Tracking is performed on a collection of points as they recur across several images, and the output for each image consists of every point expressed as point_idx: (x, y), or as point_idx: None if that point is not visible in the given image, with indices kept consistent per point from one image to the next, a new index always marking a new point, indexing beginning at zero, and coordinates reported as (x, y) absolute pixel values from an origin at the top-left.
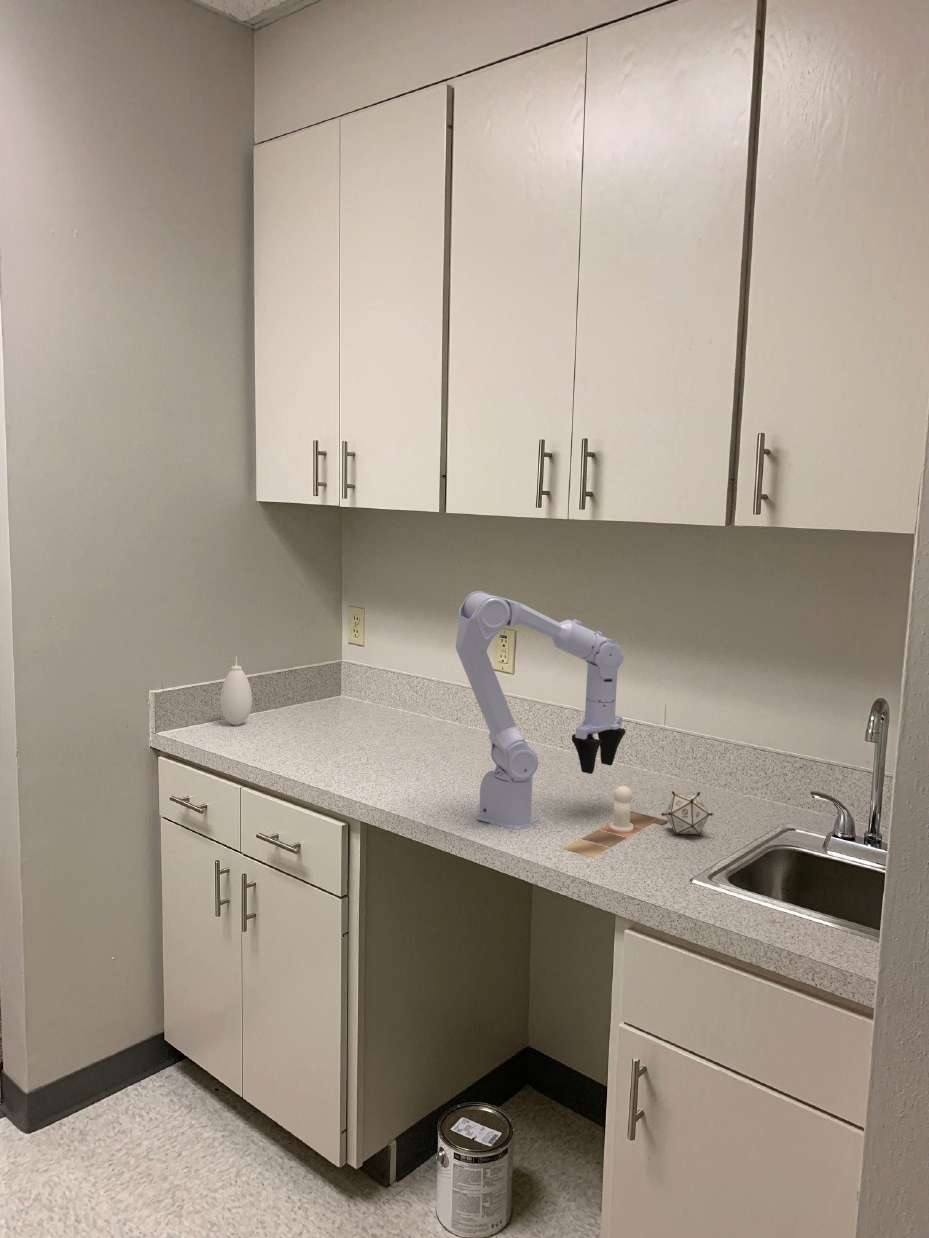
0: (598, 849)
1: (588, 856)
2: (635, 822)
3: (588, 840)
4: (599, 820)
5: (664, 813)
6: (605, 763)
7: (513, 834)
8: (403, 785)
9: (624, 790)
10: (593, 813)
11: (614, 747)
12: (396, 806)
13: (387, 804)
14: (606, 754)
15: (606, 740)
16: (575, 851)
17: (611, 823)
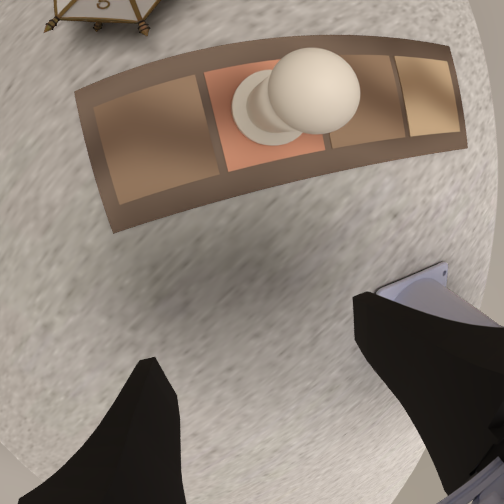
0: (417, 70)
1: (449, 69)
2: (179, 123)
3: (401, 117)
4: (249, 214)
5: (140, 24)
6: (167, 383)
7: (453, 253)
8: (368, 464)
9: (347, 64)
10: (218, 270)
11: (131, 436)
12: None
13: None
14: (163, 421)
15: (165, 500)
16: (453, 102)
17: (289, 135)
